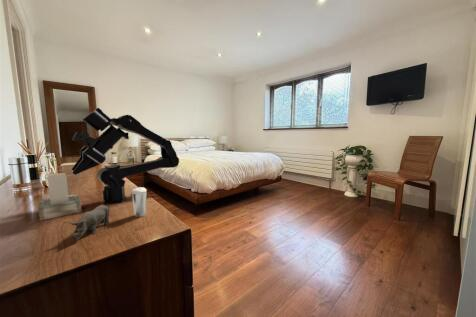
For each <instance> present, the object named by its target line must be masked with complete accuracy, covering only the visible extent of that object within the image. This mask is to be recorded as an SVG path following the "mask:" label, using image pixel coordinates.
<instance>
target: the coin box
mask: <svg viewBox="0 0 476 317" xmlns="http://www.w3.org/2000/svg"><path fill="white" fill-rule="evenodd" d="M68 196H69V202H63V203H58V204H52V205H51V201H50V198H46V199H39V204H38V215H39V221H44V220H49V219H53V218H58V217H62V216H69V215H72V214H78V213H81V212H82V206H81V205H82V204H81V199H80V197H79V194H78V193H77V194H71V195H68Z"/></svg>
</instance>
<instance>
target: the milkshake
mask: <svg viewBox="0 0 476 317" xmlns="http://www.w3.org/2000/svg"><path fill="white" fill-rule="evenodd" d="M127 186H128V188H129V190H130V196H131V200H132V207H133V213H134V217H136V218H141V217H145V216H146V214H147V191H148V190H147V188H145V187H143V186H142V187H141V186H138V187H134V189H133V188H132V189H131V187H130V185H127Z"/></svg>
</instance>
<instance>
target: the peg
mask: <svg viewBox="0 0 476 317" xmlns="http://www.w3.org/2000/svg"><path fill="white" fill-rule="evenodd" d="M46 177H47V183H48V184H47V186H48V191H49V199H50V201H51V205H52V204H58V203H63V202H69V196H70V195H69V190H68V189H69V188H68V181H67V180H68V179H67V174H66V172H62V173H52V174H51V173H50V174H47V176H46Z"/></svg>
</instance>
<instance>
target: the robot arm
mask: <svg viewBox="0 0 476 317" xmlns="http://www.w3.org/2000/svg"><path fill="white" fill-rule="evenodd" d="M81 120H82V121H83V122H84V123H86V124H87V125H88V126H89V127H91V128H92V129H93V130H94V131H96V132H97V131H100V132H101V134H100V135H99V136H95V137H91V136H90V133H89V132H86V131H82V132H81V133H80V132H78V131H76V132H75V133H74V135H73V137H72V140H71V141H73V142H76V143H81V144H84V145H83V147H81V149H80V150H79V158H78V159H77V161H76V162H75V164H74V165H73V166H72V168H71V171H72V174H73V175H78V174H80V173H83V172H85V171H88V170H89V169H92V168H94V167H96V166H100V165H101V164H103V163H104V162H105V161H106V159H107V158H106V154H107V153H108V152H109V151H110V150H112V149H113V148H114V146H115V145H116V144H117V143H118V142H119V141H120V140H121V139H122V138H123V139H124V140H129V139H130V138H129V137H130V136H129V133H132V134H136V135H139V136H140V137H142V138H144V139H145V140H148V141H150V142H152V143H153V144H155V145H157V146H159V148H160V154H161V156H159V157H158V158H157V159H154V160H153V159H152V160H149V161H144V162H139V163H134V164H130V165H125V166H121V165H120V164H117V163H113V164H111V165H104V167H102V168H99V170H98V171H97V173H96V178H97V180H99V181H100V182H101V183H103V185H104V186H103V190H102V199H103V202H102V203H103V204H102V205H104V204H117V203H118V204H119V203H123V202H124V201H125V200H126V199H127V196H126V193H125V192H126V190H125V184H126V180H125V178H127V177H129V176H133V175H138V174H141V173H145V172H150V171H154V170H157V169H167V168H168V169H170V168H176V167H178V166H179V163H180V159H179V157H178V154H177V152H176V151H175V149H174V147H173V145H172V142H171V141H170V140H169V139H166V138H165V137H163V136H162V135H160V134H158V133H156V132H154V131H152V130H151V129H149V128H147V127H146V126H144V125H143V124H142V123H141V122H140V121H139V120H138V119H137V118H135V117H134V116H132V115H130V114H123V115H120V116H119V117H117V118H115V117H113V118H111V117H109V116H108V115H107V114H106V113H105V112H103V110H102V109H100V107H97V108H95V109H94V110H93V111H92V112H89V113H88V114H87V115H85V117H83V118H82V119H81ZM116 127H117V128H116ZM125 131H126V132H125Z"/></svg>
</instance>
